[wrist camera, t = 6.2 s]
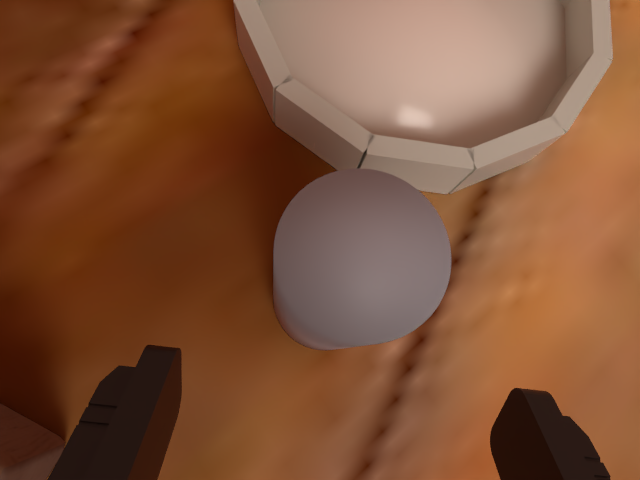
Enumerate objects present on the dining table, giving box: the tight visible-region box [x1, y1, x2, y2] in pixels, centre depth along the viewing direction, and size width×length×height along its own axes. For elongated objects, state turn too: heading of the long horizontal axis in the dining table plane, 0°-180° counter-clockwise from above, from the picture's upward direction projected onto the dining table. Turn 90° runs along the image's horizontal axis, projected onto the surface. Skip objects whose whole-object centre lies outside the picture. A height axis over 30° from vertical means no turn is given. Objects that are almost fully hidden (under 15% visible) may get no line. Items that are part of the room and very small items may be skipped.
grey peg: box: [273, 168, 451, 350], centre depth 16 cm, size 4×4×9 cm
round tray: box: [233, 0, 613, 194], centre depth 22 cm, size 17×17×3 cm
